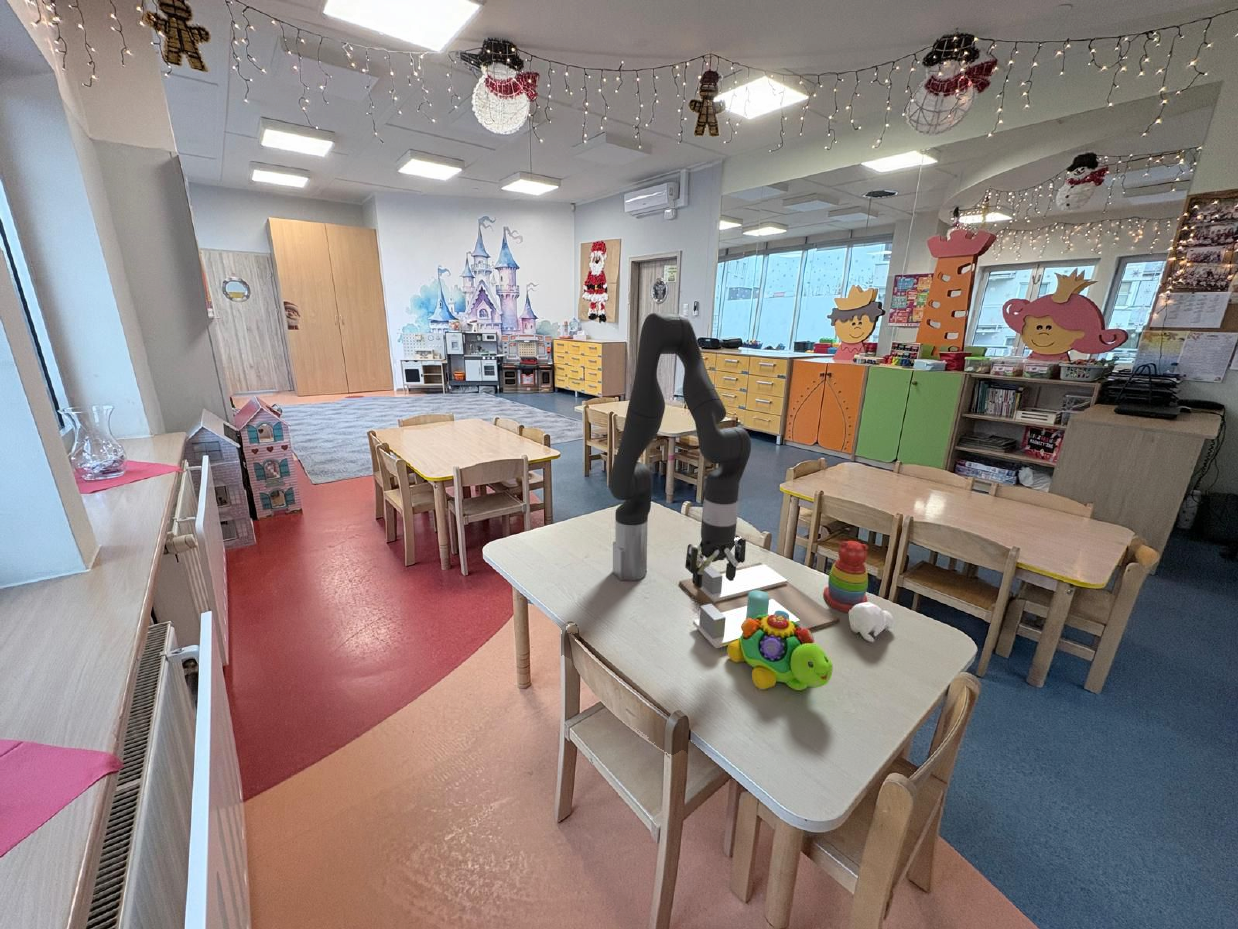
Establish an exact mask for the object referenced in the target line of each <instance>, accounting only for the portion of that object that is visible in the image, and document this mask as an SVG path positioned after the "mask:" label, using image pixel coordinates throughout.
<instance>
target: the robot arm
mask: <svg viewBox="0 0 1238 929" xmlns="http://www.w3.org/2000/svg"><path fill="white" fill-rule="evenodd" d="M661 355H676V356H677V357H678V358H679V360H680V362H681V363H682V365H683V368H684V373H683V381H682V396H683V398H684V402H685V405H686V406H687V409H688V411H689V414H690V415H691V417H692V419H693V420H694V424H695V432H696V436H697V441H698V448H699V451H700V454H701V455H702V457H703V459H705V460H706V461H707V462H709V463H711V464H714V465H717V464H720V465H719V466H718V467H716V468H715V469H713V470H711V471H709V473H707V475H706V478H705V486H704V487H705V489H704V499H703V502H702V504H703V505H702V512H701V525H700V526H701V527H700V543H699V545H698V544H697V545H693V544H692V543H688V545H687V549H686V557H685V563H684V564H685V566H684V567H685V568H686V570H688V571H689V573H690V574H692V577H691V578H692V582H693V584H694V585H695V586H696V587H697V588H701V587H702V575H703V574H702V572H703V571H704V569H705V568H706V567H708V566H709V565H710V566H711V563H716V562H718V561H724V560H726V561H727V562H726V568H725V571H726V578H727V579H728V580H729V581H733V580H734V578H735V575H736V568H737V567H738V565H739V564H740V563H742V564H743V563H745V562H746V547H747V546H746V544H747V540H746V539H745V538H744V537H743V536H741V535H739V534H736V533H737V524H738V512H739V507H738V506H739V505H738V503H739V502H738V501H739V492H740V491H739V488H740V482H741V479H742V477H743V475H744V472H745V470H746V466H747V464H748V461H749V459H750V455H751V451H752V441H751V437H750V435H749V433H748V431H747V430H746V429H744V428H743V427H739V426H732V427H725V428H718V426H717V425H719V424H720V423H722V421H724V419H725V418H726V416H727V410H726V407H725V404H724V403H723V401H722V399H721V397H720V395H719V393H718V392H717V390H716V388H715V386H714V384H713V382H712V380H711V378H710V375H709V373H708V370H707V368H706V367H707V366H706V364H705V361H704V358H703V353H702V351H701V348H700V344H699V342H698V338H697V335H696V333H695V330H694V328H693V325H692V323H691V321H690V320H689V318H688V317H687V316H686V315H684V314H680V313H671V312H668V313H667V312H666V313H665V312H653V313H650V314H647V316H646V317H645V319H644V320H643V324H642V327H641V331H640V337H639V343H638V351H637V358H636V367H635V373H634V378H633V379H634V380H633V385H632V389H631V392H630V398H629V402H628V406H627V410H626V414H625V419H624V424H623V425H624V426H623V430H622V434H621V438H620V440H619V441H620V443H619V445H618V449H617V452H616V455H615V458H614V462H613V464H612V467H611V470H610V474H609V479H608V481H609V482H608V484H609V491H610V493H611V495H612V497H613V498H614V499H616V500H617V501H623V502H622V503H621V504H620V505H619V506H618V507H617V508H616V510H615V514H614V515H615V523H614V524H615V527H614V528H615V534H614V535H615V538H614V540H615V541H613V542H612V572H613V573H614V574H615V576H616V577H617V578H618V579H619V581H638V580H642V579H643V578H645V577H646V575H647V573H648V572H647V571H648V569H647V568H648V565H647V564H648V529H649V527H648V525H649V524H648V522H649V520H648V519H649V513H650V512H651V507H652V497H653V496H652V494H653V478H652V474H651V470H650V469H649V467H648V466H647V465H646V464H645V463H643V462H639V459H640V458H641V456H642V454H643V453H644V452H645V450H647V448H648V447H649V445H650V444H651V443H652V441H653V440H654V439H656V436H657V434H658V433H659V431H660V428H661V425H662V421H663V418H664V415H665V410H666V402H665V397H664V394H663V391H662V389H661V386H660V382H659V380H658V379H659V378H658V367H659V366H658V365H659V361H660V358H661ZM733 549H734V554H733V553H732V552H731V551H732V550H733ZM704 558H705V560H704Z"/></svg>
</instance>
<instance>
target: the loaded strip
mask: <svg viewBox="0 0 1238 929" xmlns="http://www.w3.org/2000/svg"><path fill="white" fill-rule="evenodd" d="M777 610H781V611H785V612H787V613H788V614H789V620H791V621H795V622H796V623H797V624H800V620H799V619H798V618H797V617H795V616H794V615H793V614H791V613H790V612H789V611H788V610H786V609H785V608H784V607H782V606H781V605H780V604H779V603H777V602H776V601H775V600H773V599H771V600H769V608H768V614H769V615H774V613H775V611H777ZM746 613H747V606H745V607H741V608H737V609H734V610H730V611H726V612H722V613H721V612H720V611H719V610H718V609H716V608H715V607H714V606H713V605H712V604H707V605H703V606H701V605H700V608H699V618H697V619H694V620H692V624H693V625H694V627H695V628H696V629H697V630H698V631H699V633H701V634H702V635H703V636H704V637H705V638H706V639H707V641H708V642H709V643H710V644H712V646H713V647H714V648H715V649H719V648H722V647H726V646H728V645H729V644H730V643H732V642H735V641H736V640H740V636H741V635H742V633H743V631H742V629H741V625H742V623H743V622H744V620H746V619H747V617H746Z"/></svg>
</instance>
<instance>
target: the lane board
mask: <svg viewBox="0 0 1238 929" xmlns="http://www.w3.org/2000/svg"><path fill="white" fill-rule="evenodd" d="M759 565H763V563H762V562H758V563H752V564H749V565H743V566H739V567H736V571H737V570H741V569H746V568H750V567H754V566H759ZM719 573H720V574H724V573H726V570H723V571H719ZM692 578H693V577H691V578H688V579H682V580H680V581H678V582H679V584H678V585H679V586H680V587H681V588H682V589H683V590H684V591H685V592H686V593H687V594H688V595H689V596H691V597H692V599H693V600H695V602H697V603H698V605H700V606H703V605H707V604H712V605H713V606H714V607H715V608H716V609H718V610H719V611H720V612H721V613H722V612H726V611H730V610H734V609H737V608H741V607H745V606H747V602H748V594H744V595H740V596H736V597H732V598H728V599H725V600H721V601H717V602H713V601H712V600H711V599H710V598H709V597H708V596H707V595H706V594H705V593H704V592H703V591H702V590H701V589H699V588H697V587H696V586H695V585H694V584H693V582H692ZM760 591H763V592H765V593H767V594H768V595H769V597H770V598H769V600H771V599H773V600H775V601H776V602H777V603H779V604H780V605H781V606H782V607H784V608H785V609H786V610H788V611H789V612H790V613H791V614H793V615H794V616H795V617H797V618H798V619H799V620H800V624H798V625H799V626H800V627H801V629H805V628H806V629H808V630H810V632H812V631H814V630H819V629H821V628H824V627H828V626H830V625H834V624H837V623H840V620H841V618H840V617H838V616H837V615H835V614H834V613H832V612H831V611H830V610H829V609H827V608H826V607H824V606H823V605H821V604H820V603H819V602H817V601H815V600H814V599H813V598H811V597H810V596H809V595H807V594H805V593H804V592H803V591H802V590H800V589H799V588H797V587H796V586H794V585H793V584H791V583H790V582H788V581H787V584H783V585H779V586H776V587H772V588H768V589H764V590H760Z"/></svg>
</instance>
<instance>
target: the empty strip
mask: <svg viewBox="0 0 1238 929" xmlns="http://www.w3.org/2000/svg"><path fill="white" fill-rule="evenodd" d="M762 564H763V563H762ZM719 572H720V571H719ZM719 572H718V570H716V569H715V568H714V567H713V566H712V565H711V564H710V565H709V566H708V567H706V568H705V569H704V571H703V572H702V574H703V575H702V587H701V588H699V589H701V590H702V591H703V592H704V593H705V594H706V595H707V596H708V597H709V598H710V599H711V600H712V601H713V602H717V601H721V600H725V599H728V598H732V597H736V596H740V595H744V594H748V593H749V592H751V591H755V590H758V591H760V590H764V589H768V588H772V587H776V586H779V585H783V584H787V582H788V579H786V578H785V577H783V576H782V575H781V574H779V573H778V572H776V571H775V570H774V569H773V568H771V567H769V566H768V565H766V564H765V563H764V564H763V565H759V566H754V567H750V568H746V569H741V570H737V571H736V575H735V578H734V580H733V581H729V580H728V579H727V578H726V573H724V574H720V573H719Z"/></svg>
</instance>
